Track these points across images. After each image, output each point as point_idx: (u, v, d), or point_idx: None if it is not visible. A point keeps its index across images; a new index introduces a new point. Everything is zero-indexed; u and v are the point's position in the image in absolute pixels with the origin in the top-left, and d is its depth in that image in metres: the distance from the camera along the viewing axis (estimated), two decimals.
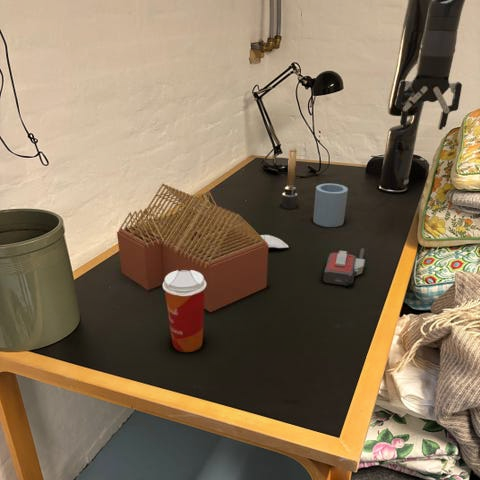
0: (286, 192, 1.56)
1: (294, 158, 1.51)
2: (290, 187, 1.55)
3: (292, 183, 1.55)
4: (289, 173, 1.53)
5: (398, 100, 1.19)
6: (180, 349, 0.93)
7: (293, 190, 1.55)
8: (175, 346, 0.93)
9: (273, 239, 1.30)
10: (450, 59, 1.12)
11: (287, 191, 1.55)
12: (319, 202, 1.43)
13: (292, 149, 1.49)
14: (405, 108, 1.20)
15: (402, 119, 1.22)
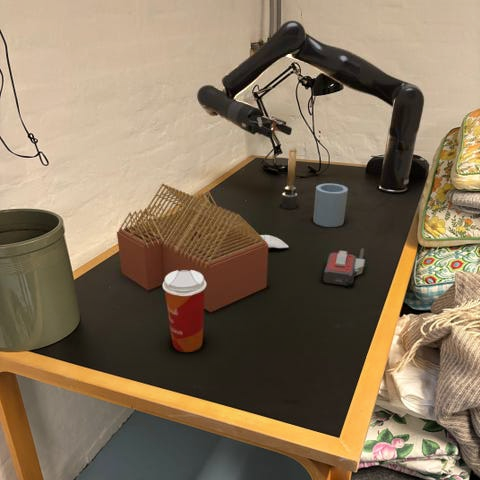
0: (286, 192, 1.56)
1: (294, 158, 1.51)
2: (290, 187, 1.55)
3: (292, 183, 1.55)
4: (289, 173, 1.53)
5: None
6: (180, 349, 0.93)
7: (293, 190, 1.55)
8: (175, 346, 0.93)
9: (273, 239, 1.30)
10: (238, 125, 1.57)
11: (287, 191, 1.55)
12: (319, 202, 1.43)
13: (292, 149, 1.49)
14: None
15: None
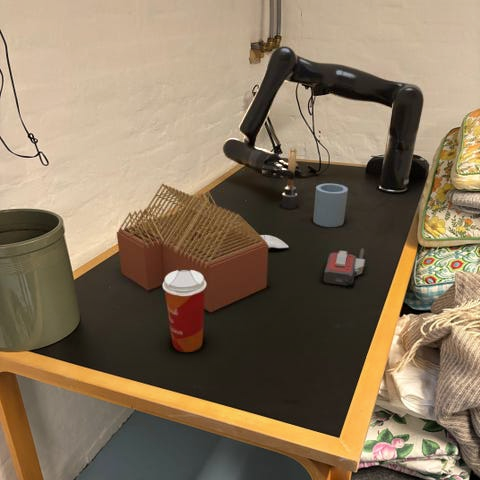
0: (286, 192, 1.56)
1: (294, 158, 1.50)
2: (290, 187, 1.55)
3: (292, 183, 1.55)
4: None
5: None
6: (180, 349, 0.93)
7: (293, 190, 1.55)
8: (175, 346, 0.93)
9: (273, 239, 1.30)
10: (258, 171, 1.63)
11: (287, 191, 1.55)
12: (319, 202, 1.43)
13: (292, 149, 1.49)
14: None
15: None
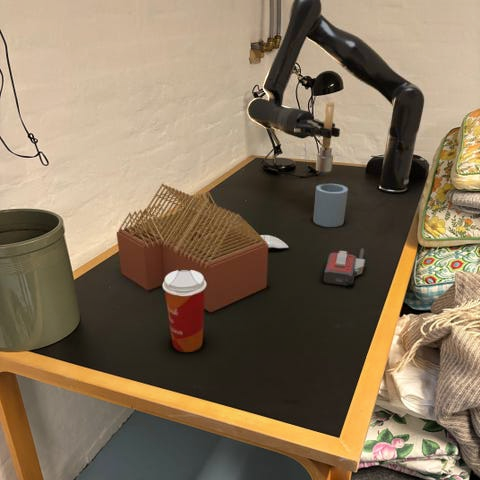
0: (321, 153, 1.40)
1: (331, 113, 1.35)
2: (325, 147, 1.40)
3: (328, 143, 1.39)
4: None
5: None
6: (180, 349, 0.93)
7: (329, 151, 1.39)
8: (175, 346, 0.93)
9: (273, 239, 1.30)
10: (288, 132, 1.47)
11: (322, 151, 1.40)
12: (319, 202, 1.43)
13: (329, 103, 1.34)
14: None
15: None
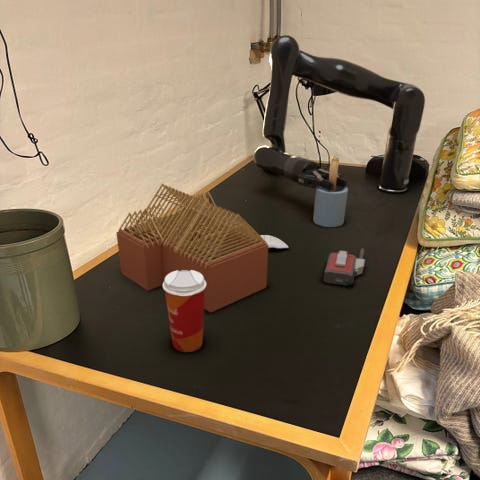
0: None
1: (336, 167, 1.40)
2: None
3: None
4: None
5: None
6: (180, 349, 0.93)
7: None
8: (175, 346, 0.93)
9: (273, 239, 1.30)
10: (294, 180, 1.52)
11: None
12: (319, 202, 1.43)
13: (334, 158, 1.38)
14: None
15: None
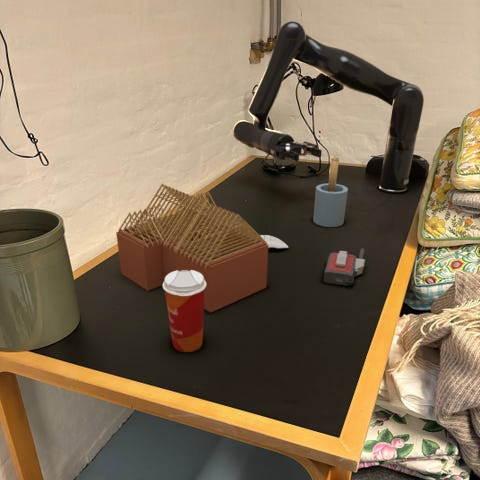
0: None
1: (336, 167, 1.40)
2: None
3: None
4: (330, 183, 1.42)
5: None
6: (180, 349, 0.93)
7: None
8: (175, 346, 0.93)
9: (273, 239, 1.30)
10: (270, 153, 1.58)
11: None
12: (319, 202, 1.43)
13: (334, 158, 1.38)
14: None
15: None
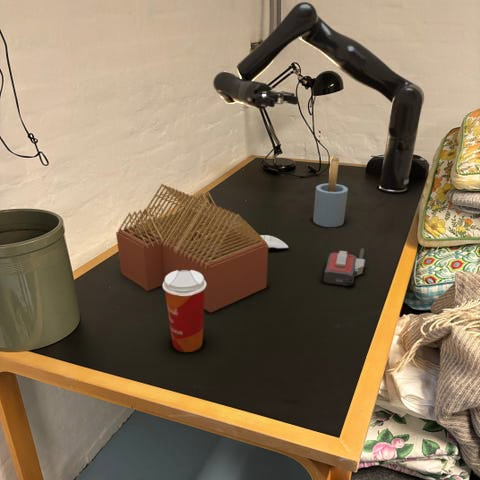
0: None
1: (336, 167, 1.40)
2: None
3: None
4: (330, 183, 1.42)
5: None
6: (180, 349, 0.93)
7: None
8: (175, 346, 0.93)
9: (273, 239, 1.30)
10: (248, 103, 1.58)
11: None
12: (319, 202, 1.43)
13: (334, 158, 1.38)
14: None
15: None
